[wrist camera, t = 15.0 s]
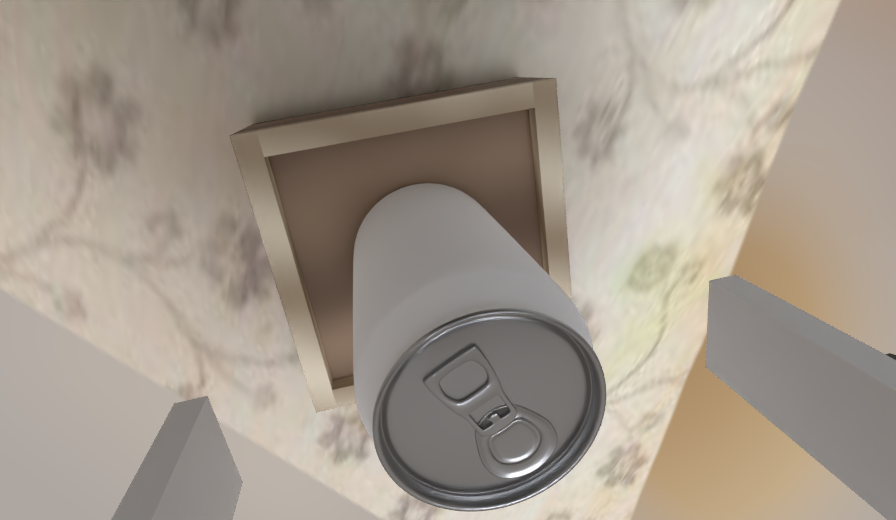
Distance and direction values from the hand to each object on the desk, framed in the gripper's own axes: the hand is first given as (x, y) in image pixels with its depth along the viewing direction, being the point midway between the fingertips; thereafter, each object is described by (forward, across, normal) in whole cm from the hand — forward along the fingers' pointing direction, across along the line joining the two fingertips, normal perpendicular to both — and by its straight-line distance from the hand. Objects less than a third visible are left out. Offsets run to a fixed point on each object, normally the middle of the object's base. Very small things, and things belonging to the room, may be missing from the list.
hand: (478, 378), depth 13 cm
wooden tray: (+14, 0, 0) cm, 15 cm away
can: (+11, 0, 0) cm, 11 cm away
